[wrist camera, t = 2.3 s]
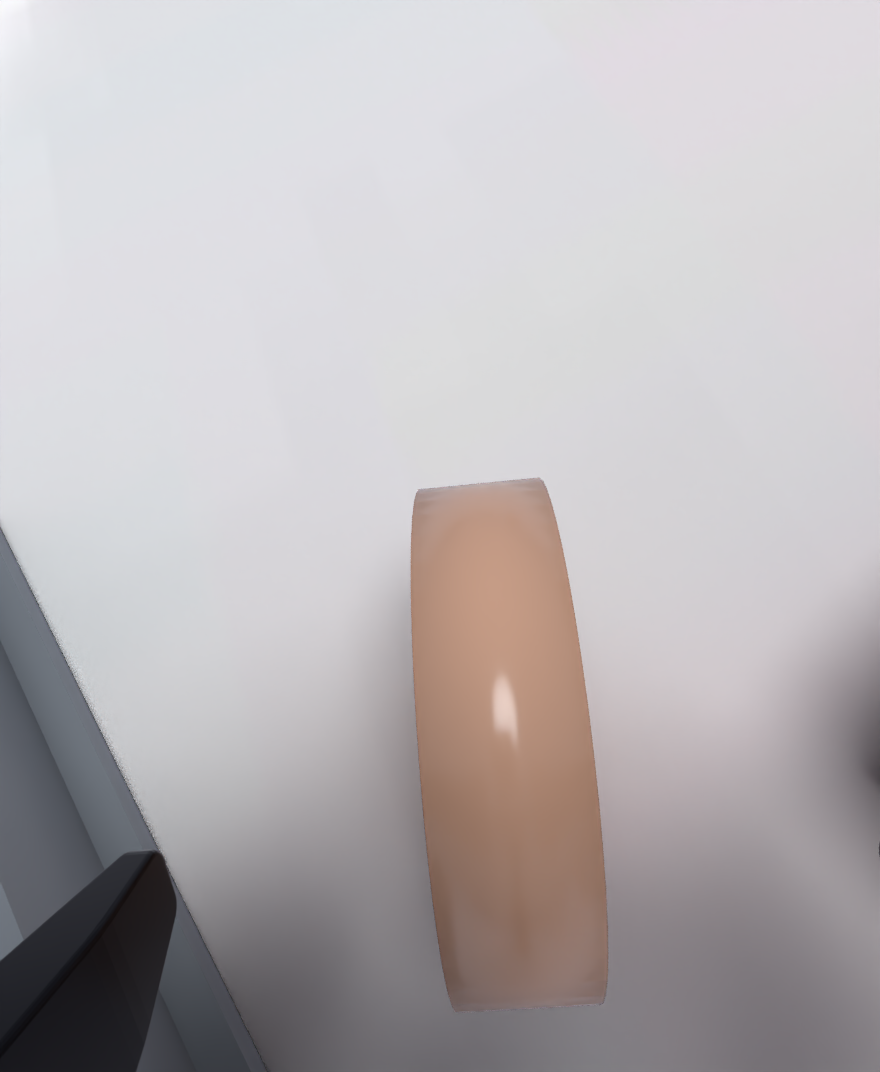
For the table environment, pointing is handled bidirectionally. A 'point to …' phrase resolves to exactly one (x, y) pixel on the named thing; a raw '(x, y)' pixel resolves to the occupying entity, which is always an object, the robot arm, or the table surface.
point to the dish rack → (88, 835)
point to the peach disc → (505, 752)
